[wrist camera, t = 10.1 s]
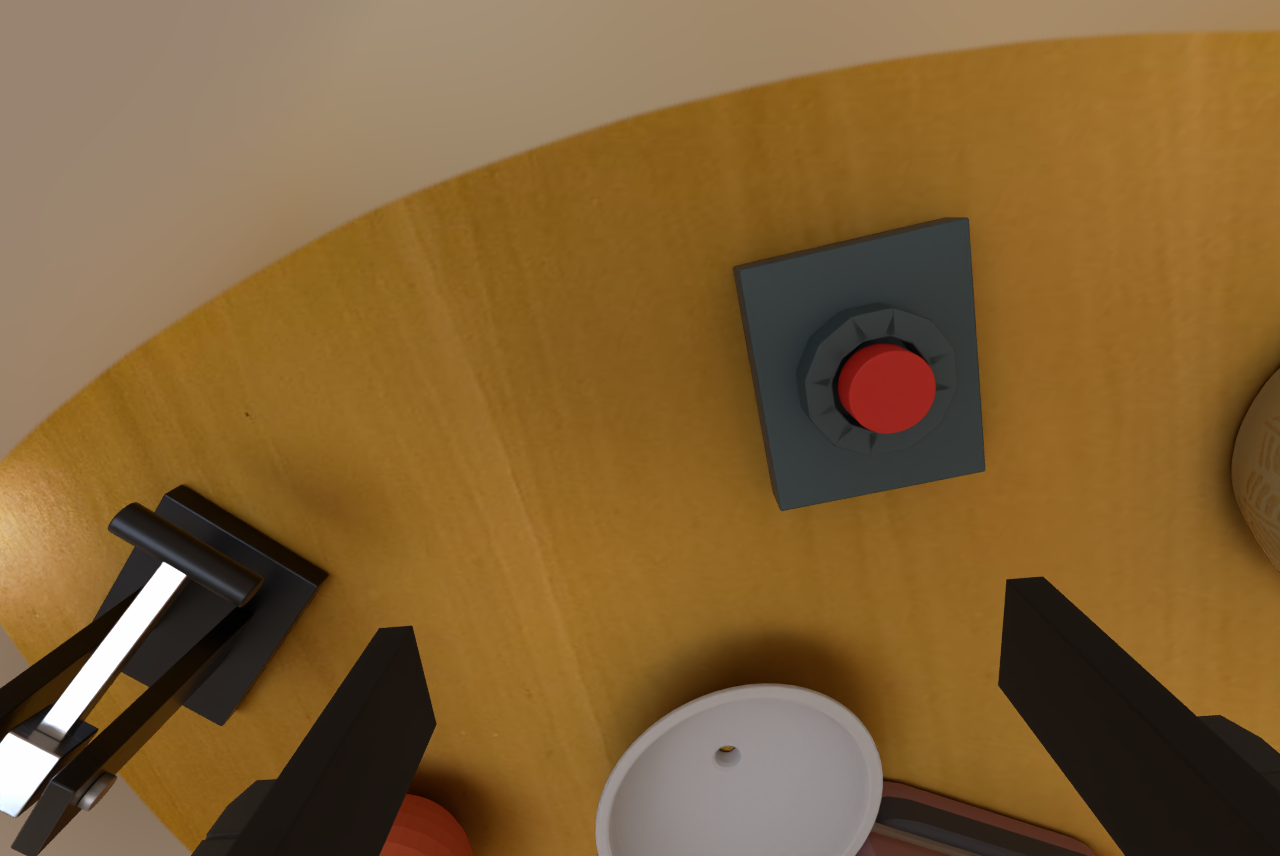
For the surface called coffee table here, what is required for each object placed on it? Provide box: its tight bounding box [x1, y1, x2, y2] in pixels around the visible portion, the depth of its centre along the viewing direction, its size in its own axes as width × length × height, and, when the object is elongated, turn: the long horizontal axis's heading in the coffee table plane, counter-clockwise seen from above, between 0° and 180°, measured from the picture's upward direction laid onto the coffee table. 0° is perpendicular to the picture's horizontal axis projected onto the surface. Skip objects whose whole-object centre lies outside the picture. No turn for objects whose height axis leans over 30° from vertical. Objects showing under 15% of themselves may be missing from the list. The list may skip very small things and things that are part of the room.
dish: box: [595, 683, 883, 856], centre depth 37 cm, size 18×14×5 cm
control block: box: [733, 218, 985, 511], centre depth 30 cm, size 12×10×4 cm
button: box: [838, 343, 936, 434], centre depth 27 cm, size 4×4×2 cm
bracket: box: [0, 485, 328, 856], centre depth 31 cm, size 12×9×13 cm
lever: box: [0, 502, 264, 818], centre depth 27 cm, size 12×6×2 cm, turn 143°
